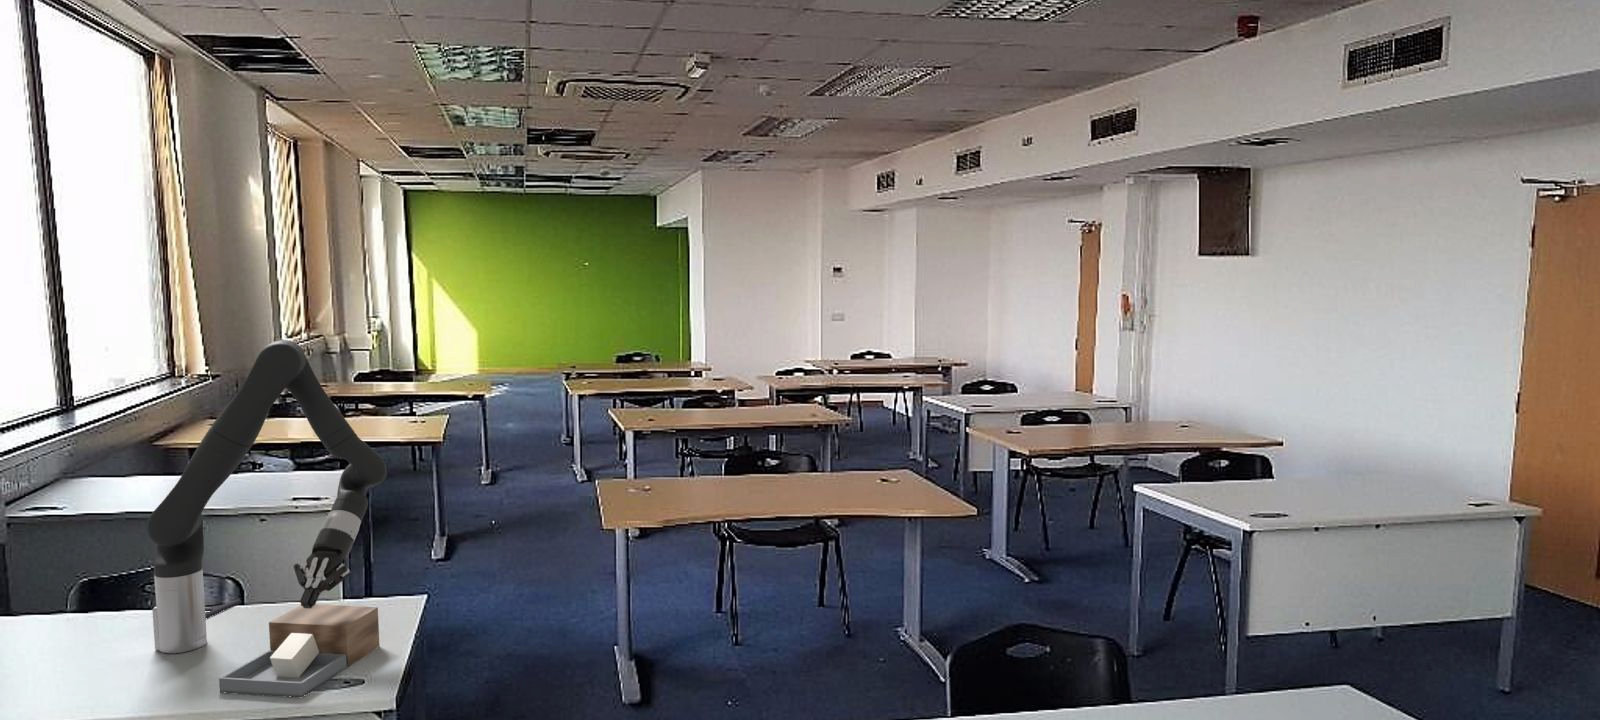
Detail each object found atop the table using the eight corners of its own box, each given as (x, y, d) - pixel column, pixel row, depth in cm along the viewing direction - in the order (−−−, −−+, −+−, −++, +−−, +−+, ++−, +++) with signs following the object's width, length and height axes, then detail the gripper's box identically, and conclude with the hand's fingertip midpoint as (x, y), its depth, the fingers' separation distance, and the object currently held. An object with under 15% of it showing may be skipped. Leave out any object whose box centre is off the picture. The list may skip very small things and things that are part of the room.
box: (219, 692, 203) (218, 678, 202) (269, 663, 217) (268, 650, 217) (302, 698, 200) (301, 683, 200) (346, 668, 215) (346, 654, 214)
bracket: (191, 602, 260) (190, 591, 260) (242, 605, 257) (241, 594, 257) (145, 621, 246) (144, 610, 246) (198, 625, 243) (197, 614, 243)
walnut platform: (271, 662, 218) (268, 622, 217) (306, 642, 230) (304, 603, 229) (348, 667, 215) (346, 626, 214) (379, 646, 227) (377, 607, 226)
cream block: (298, 650, 216) (276, 676, 209) (291, 632, 214) (269, 657, 207) (319, 652, 215) (298, 677, 209) (312, 634, 213) (291, 659, 206)
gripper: (302, 525, 224) (268, 597, 213) (357, 527, 222) (326, 600, 211) (318, 542, 230) (286, 613, 219) (372, 544, 228) (342, 616, 217)
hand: (305, 606), depth 215 cm, fingers closed
